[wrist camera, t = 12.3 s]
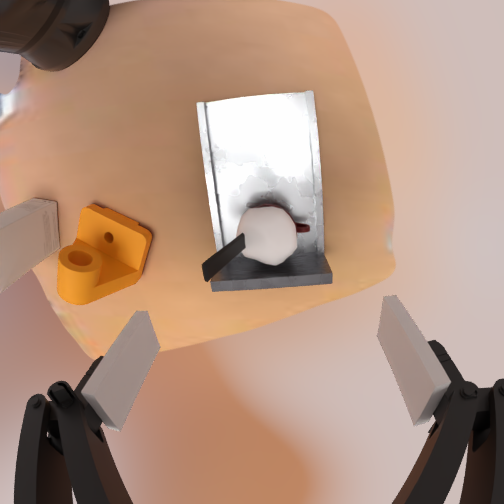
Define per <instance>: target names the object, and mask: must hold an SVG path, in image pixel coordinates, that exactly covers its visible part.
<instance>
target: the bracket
mask: <svg viewBox="0 0 504 504" xmlns="http://www.w3.org/2000/svg"><path fill="white" fill-rule="evenodd" d="M151 240H152V235H151V233H150V231H149V230H147V229H145V228H143V227H141V226H139V223H138V222H136V221H134V220H132V219H130V218H128V217H126V216H124V215H121V214H119V213H117V212H115V211H113V210H111V209H109V208H107V207H106V208H104V209H103V208H101V207H99V206H97V205H95V204H91V205H89V206H87V207H84V208H83V209H82V210H81V214H80V220H79V226H78V232H77V238H76V240H75V241H74V243H73V245H70V246H67V247H64V248H63V249H62V250H61V251H60V252H59V257H58V275H57V291H58V294H59V296H60V297H61V298H62V299H63V300H65V301H66V302H68V303H71V304H75V305H85V304H88V303H91V302H93V301H96V300H98V299H100V298H103V297H105V296H107V295H110V294H112V293H114V292H117V291H119V290H121V289H124V288H126V287H129V286H131V285H133V284H135V283H136V282H137V281H138V280H139V279H140V278H141V275H142V271H143V267H144V264H145V260H146V257H147V253H148V250H149V246H150V243H151Z"/></svg>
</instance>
